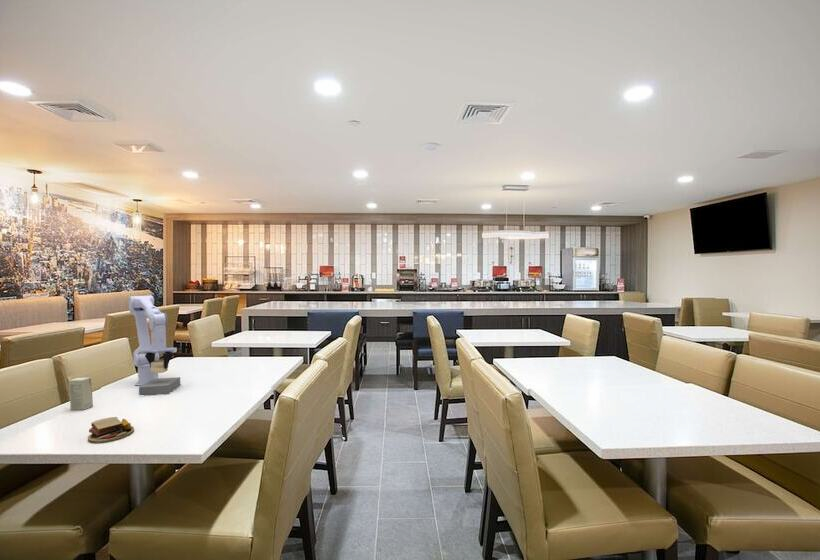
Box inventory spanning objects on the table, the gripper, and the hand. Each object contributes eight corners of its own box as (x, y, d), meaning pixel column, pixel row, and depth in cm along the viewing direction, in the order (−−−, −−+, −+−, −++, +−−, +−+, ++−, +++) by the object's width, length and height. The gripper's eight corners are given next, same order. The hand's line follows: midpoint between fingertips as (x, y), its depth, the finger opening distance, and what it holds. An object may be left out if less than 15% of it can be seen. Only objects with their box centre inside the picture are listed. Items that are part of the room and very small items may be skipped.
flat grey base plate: (153, 387, 190) (153, 378, 190) (180, 385, 192) (180, 377, 192) (139, 396, 176) (138, 387, 176) (168, 394, 178) (168, 385, 178)
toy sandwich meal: (91, 447, 125) (90, 433, 125) (84, 436, 134) (84, 422, 134) (138, 435, 134) (137, 421, 134) (128, 425, 143) (128, 412, 143)
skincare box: (93, 406, 163) (92, 377, 163) (83, 410, 159) (82, 380, 158) (79, 406, 164) (78, 377, 163) (69, 410, 159) (68, 380, 159)
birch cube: (156, 370, 186) (155, 360, 185) (167, 370, 186) (167, 359, 186) (151, 373, 181) (150, 362, 181) (163, 372, 182) (162, 362, 181)
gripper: (137, 341, 178) (138, 371, 178) (172, 340, 181) (173, 369, 181) (144, 339, 185) (145, 367, 185) (178, 337, 188) (179, 365, 188)
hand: (159, 368), depth 184 cm, fingers closed on birch cube, 5 cm apart
